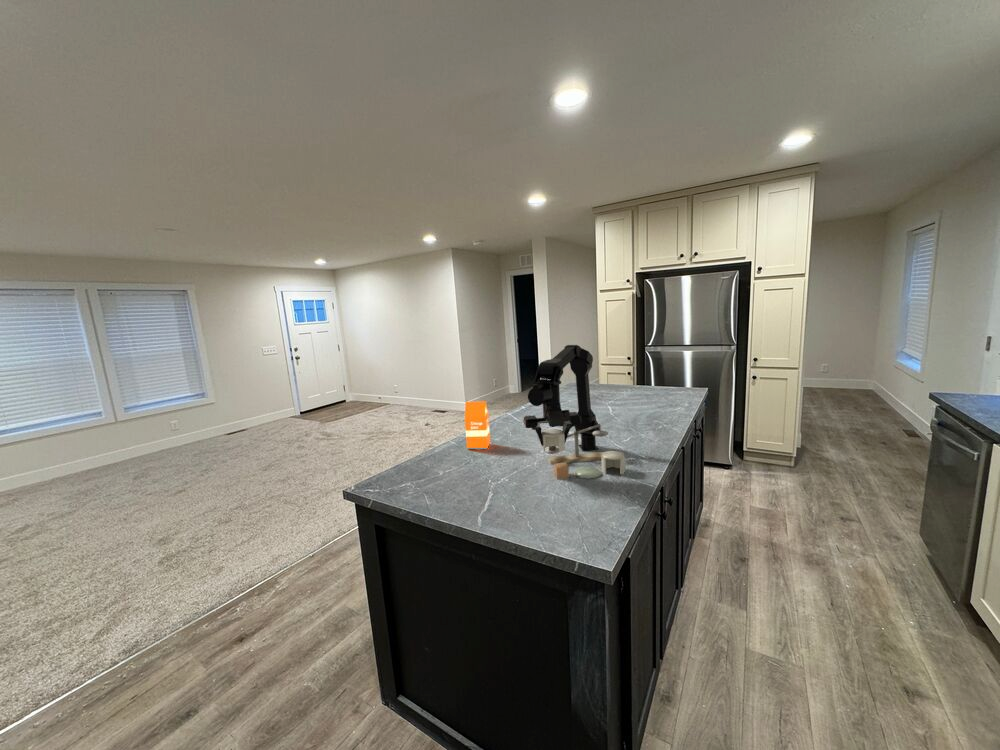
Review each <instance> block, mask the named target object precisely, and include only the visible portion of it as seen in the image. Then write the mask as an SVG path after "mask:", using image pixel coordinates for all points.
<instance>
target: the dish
mask: <svg viewBox="0 0 1000 750" xmlns="http://www.w3.org/2000/svg"><path fill="white" fill-rule="evenodd" d="M601 472H602V471H601V470H600V469H599V468H598V467H594V466H581V467H577V468H576V469H575V470H574V475H575V476H576V477H577V476H578V477H577V478H581V479H584V478H586V480H591V478H593V479H597V478H599V477H600V476H601V475H600V474H602V473H601ZM598 476H599V477H598ZM596 477H597V478H596Z"/></svg>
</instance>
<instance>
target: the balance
mask: <svg viewBox="0 0 1000 750" xmlns="http://www.w3.org/2000/svg"><path fill="white" fill-rule="evenodd" d="M597 427H600V431H594V432H593V435H594V436H595V437H600V438H601V437H607V436H608V435H609V432H608V431H606V430H601V429H602V428H601V424H600V423H598V425H595V426H592V427H589V428H586V429H584V430H581V431H576V430H574V432H572V433H568V436H567V439H568V438H571V437H574V439H573V441H574V454H566V455H556V454H558V453H559V454H560V452H559V447H558V446H549V447H546V448H545V453H546V454H550V455H551V454H552V455H554V456H548V457H547V459H548V460H547V461H548V463H549V464H550V465H554V464H555V463H566V464H570V463H579V462H581V463H582V462H588V461H589V462H590V461H591V460H592V461H599V460H600V459H601V455H602V453H604V452H603V451H599V452H588V453H580V451H579V450H580V447H579V445H580V444H579V435H581V434H580V433H582V432H585V431H588V430H591V429H594V428H597ZM555 455H556V456H555ZM592 461H591V462H592Z"/></svg>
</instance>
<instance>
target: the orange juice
mask: <svg viewBox="0 0 1000 750" xmlns="http://www.w3.org/2000/svg"><path fill="white" fill-rule="evenodd" d="M464 424H465V438H466V449H467V448H488V446H489V444H490V445H491V434H490V420H489V409H488V407H487V402H486V401H465V411H464ZM489 447H490V446H489ZM488 449H489V448H488Z"/></svg>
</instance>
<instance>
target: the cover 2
mask: <svg viewBox="0 0 1000 750" xmlns="http://www.w3.org/2000/svg"><path fill="white" fill-rule="evenodd" d="M610 467H616V468H615V469H618V468H620V469H619V475H620V474H622V475H624V474H625V473H626V456H625V454H624V453H623V452H620V451H617V450H607V451H604V452H603V453H602V455H601V472H602V473H603V472H604V473H605V475H607V469H611V468H610ZM624 472H625V473H624Z"/></svg>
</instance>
